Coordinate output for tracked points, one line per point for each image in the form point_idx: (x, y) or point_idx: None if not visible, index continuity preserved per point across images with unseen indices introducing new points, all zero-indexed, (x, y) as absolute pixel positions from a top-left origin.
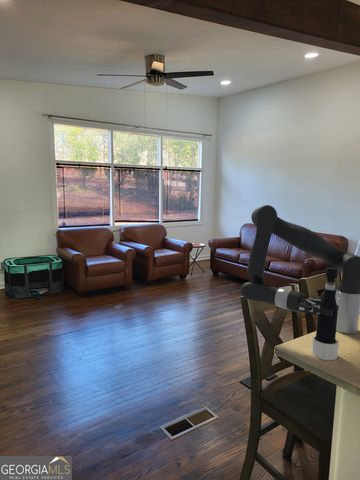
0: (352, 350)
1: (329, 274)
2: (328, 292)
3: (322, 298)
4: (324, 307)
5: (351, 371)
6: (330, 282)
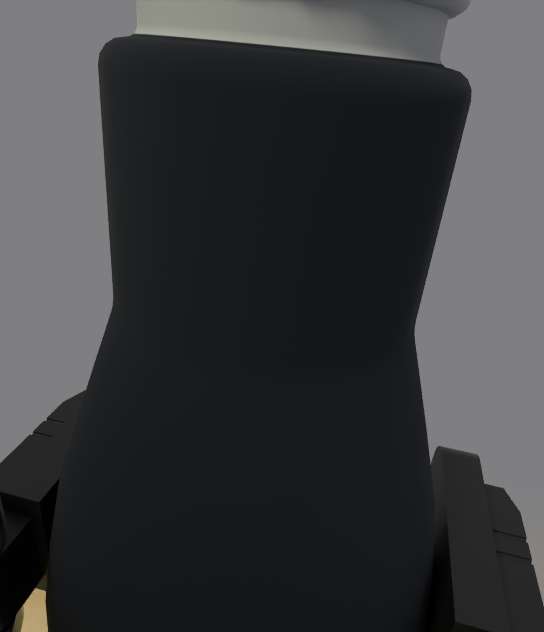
0: (35, 604)
1: None
2: (455, 155)
3: (281, 476)
4: (430, 553)
5: None
6: None
